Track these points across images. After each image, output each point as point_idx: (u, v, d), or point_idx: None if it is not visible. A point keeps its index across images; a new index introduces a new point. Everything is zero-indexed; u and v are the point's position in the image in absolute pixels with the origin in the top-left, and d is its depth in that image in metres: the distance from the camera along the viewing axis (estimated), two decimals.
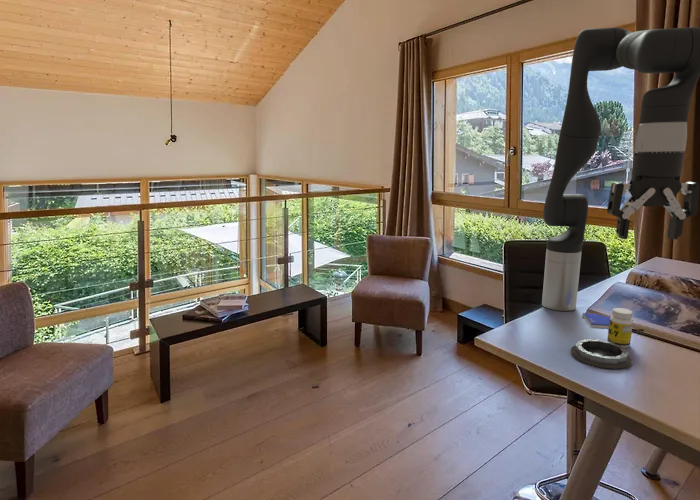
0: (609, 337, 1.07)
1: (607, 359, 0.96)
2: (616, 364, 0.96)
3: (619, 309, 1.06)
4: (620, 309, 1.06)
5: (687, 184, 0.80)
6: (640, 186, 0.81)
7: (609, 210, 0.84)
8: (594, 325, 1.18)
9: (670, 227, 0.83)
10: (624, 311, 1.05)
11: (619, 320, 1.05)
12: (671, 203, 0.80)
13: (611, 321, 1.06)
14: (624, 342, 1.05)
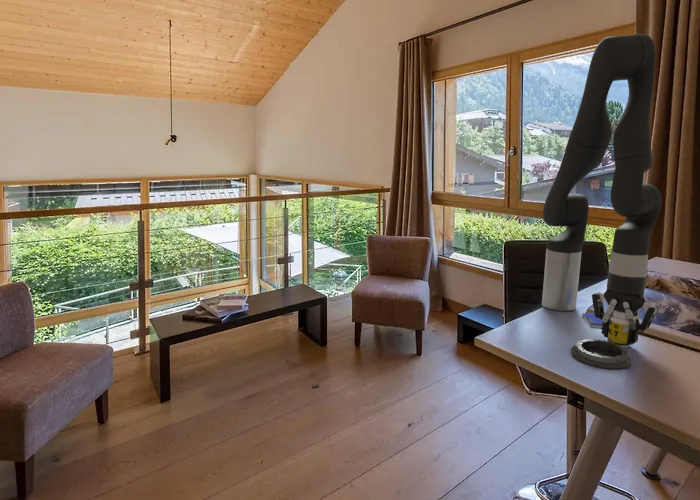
0: (609, 337, 1.07)
1: (607, 359, 0.96)
2: (616, 364, 0.96)
3: None
4: None
5: None
6: None
7: (646, 327, 1.02)
8: (594, 326, 1.18)
9: None
10: None
11: (619, 320, 1.05)
12: None
13: (611, 321, 1.06)
14: (624, 342, 1.05)
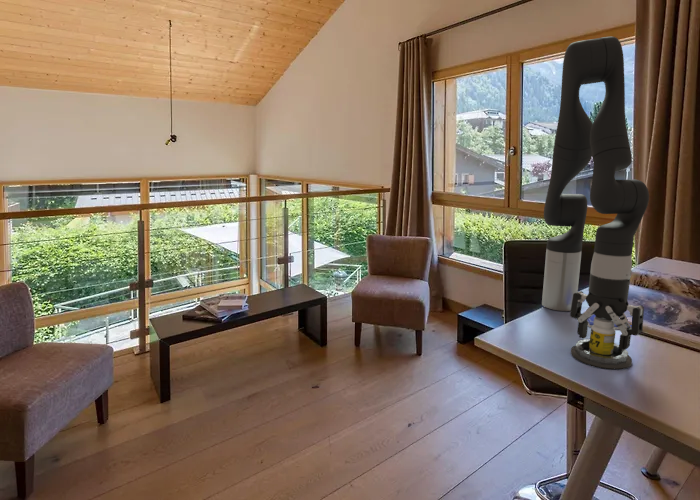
0: (590, 347, 1.00)
1: (607, 359, 0.96)
2: (616, 364, 0.96)
3: (601, 318, 0.99)
4: None
5: (583, 294, 1.02)
6: None
7: (639, 331, 0.93)
8: None
9: (584, 330, 1.02)
10: None
11: (600, 329, 0.98)
12: None
13: (592, 330, 0.99)
14: (606, 353, 0.98)
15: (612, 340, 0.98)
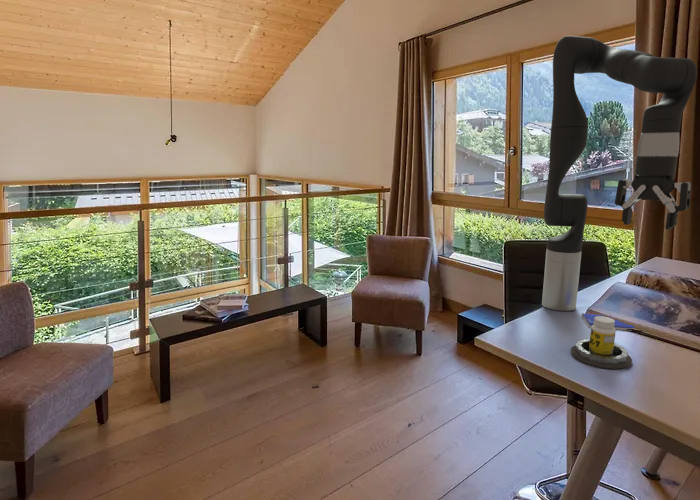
0: (590, 347, 1.00)
1: (607, 359, 0.96)
2: (616, 364, 0.96)
3: (601, 318, 0.99)
4: (602, 317, 1.00)
5: (628, 181, 1.05)
6: None
7: (687, 206, 0.96)
8: None
9: (629, 216, 1.05)
10: (606, 319, 0.99)
11: (601, 329, 0.98)
12: None
13: (592, 330, 0.99)
14: (606, 353, 0.98)
15: (612, 340, 0.98)
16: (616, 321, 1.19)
